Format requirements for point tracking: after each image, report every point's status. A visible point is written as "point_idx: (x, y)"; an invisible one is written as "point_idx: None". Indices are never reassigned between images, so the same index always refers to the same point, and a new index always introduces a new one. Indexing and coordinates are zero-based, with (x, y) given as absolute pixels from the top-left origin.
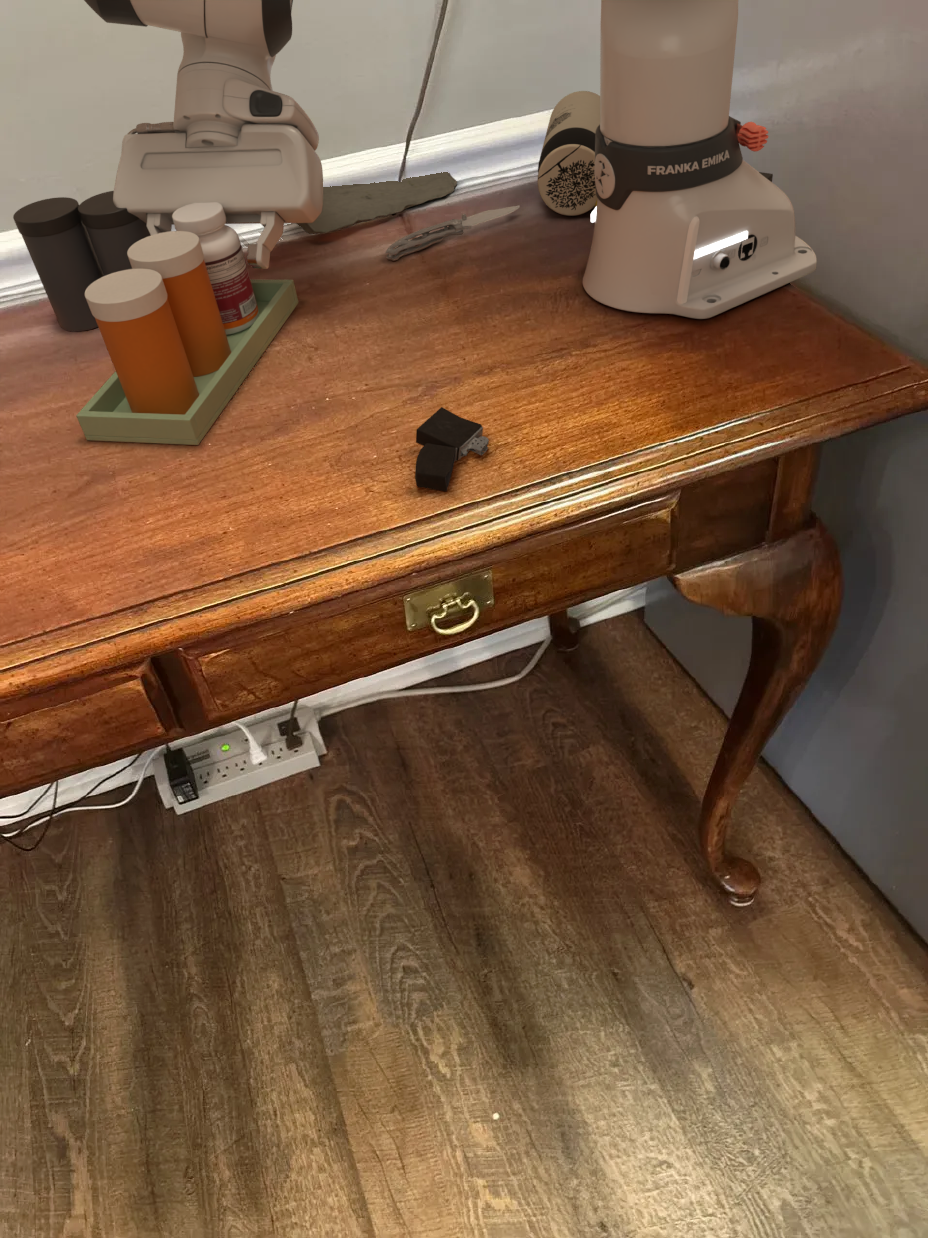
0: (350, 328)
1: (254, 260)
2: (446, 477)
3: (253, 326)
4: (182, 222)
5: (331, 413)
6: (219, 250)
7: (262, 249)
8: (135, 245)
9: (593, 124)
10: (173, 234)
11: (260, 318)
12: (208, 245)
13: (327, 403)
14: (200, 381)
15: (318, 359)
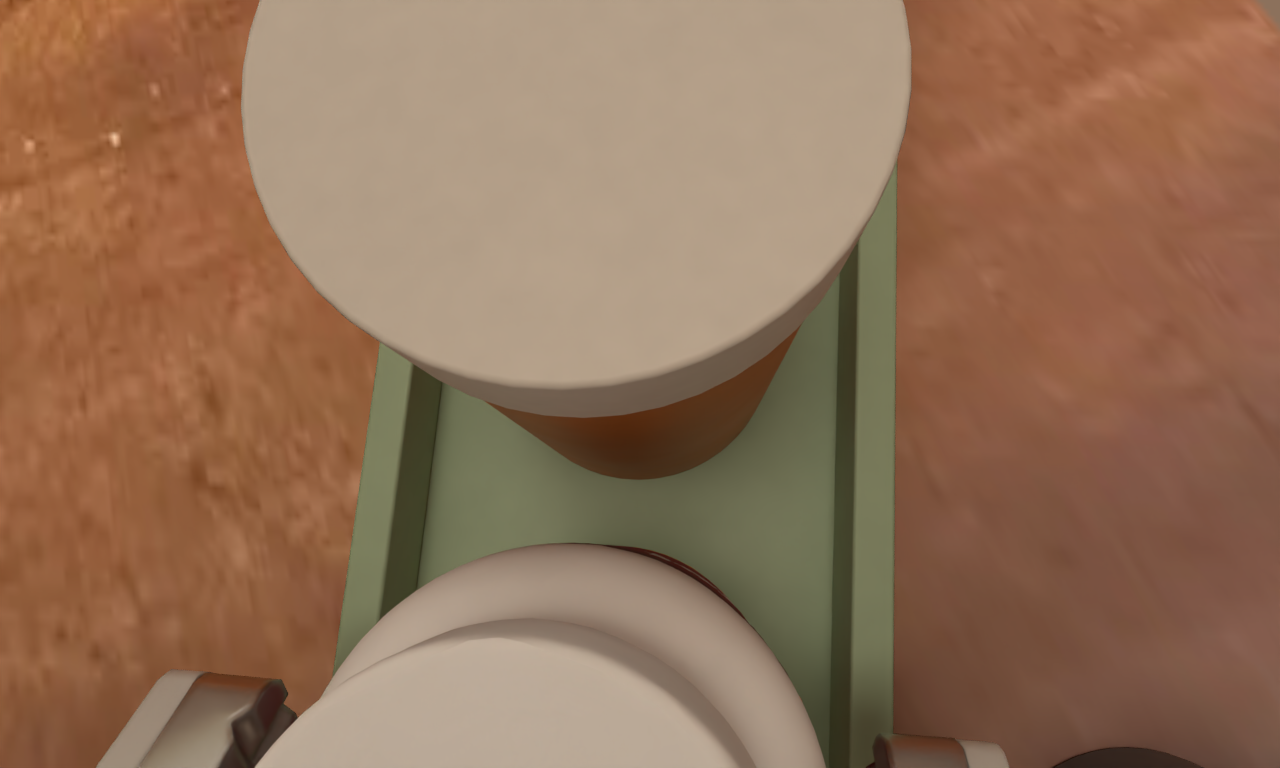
0: (76, 647)
1: (213, 675)
2: None
3: (385, 452)
4: (580, 645)
5: (93, 62)
6: (378, 622)
7: (115, 746)
8: (865, 70)
9: None
10: (555, 299)
11: (371, 533)
12: (439, 618)
13: (112, 115)
14: None
15: (179, 396)
